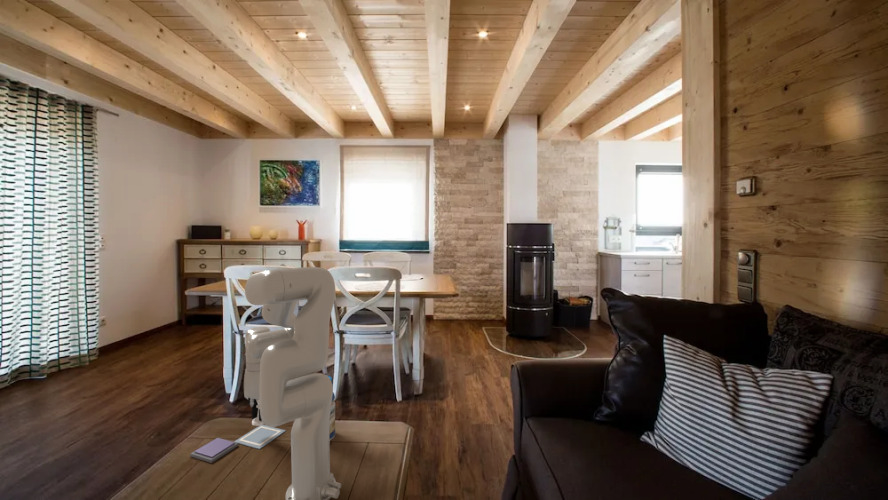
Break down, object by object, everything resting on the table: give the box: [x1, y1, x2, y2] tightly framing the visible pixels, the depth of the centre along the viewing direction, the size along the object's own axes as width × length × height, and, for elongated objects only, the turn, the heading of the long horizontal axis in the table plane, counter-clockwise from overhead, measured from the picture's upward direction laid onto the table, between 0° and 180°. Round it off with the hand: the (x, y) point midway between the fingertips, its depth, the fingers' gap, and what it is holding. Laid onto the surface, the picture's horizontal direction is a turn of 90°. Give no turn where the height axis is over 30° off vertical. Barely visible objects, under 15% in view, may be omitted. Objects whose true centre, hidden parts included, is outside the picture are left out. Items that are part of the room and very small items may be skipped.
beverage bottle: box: [327, 375, 336, 441], centre depth 118 cm, size 8×8×20 cm
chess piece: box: [251, 399, 265, 427], centre depth 119 cm, size 5×5×10 cm
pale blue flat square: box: [233, 424, 287, 450], centre depth 119 cm, size 11×11×1 cm
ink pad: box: [189, 437, 239, 464], centre depth 111 cm, size 9×9×1 cm
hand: (260, 417), depth 119 cm, fingers closed on chess piece
